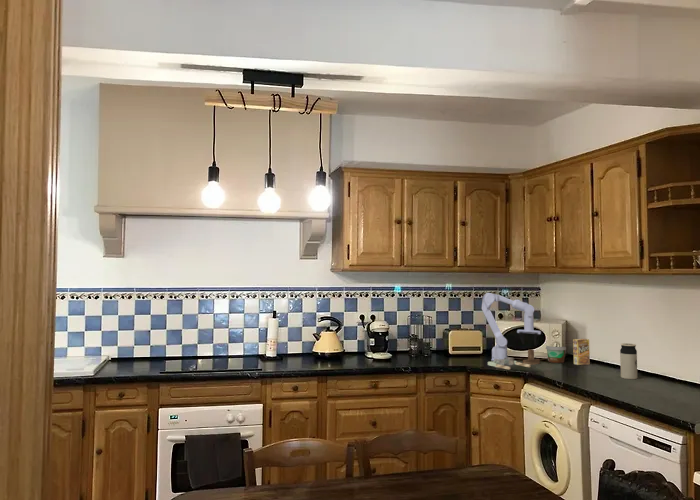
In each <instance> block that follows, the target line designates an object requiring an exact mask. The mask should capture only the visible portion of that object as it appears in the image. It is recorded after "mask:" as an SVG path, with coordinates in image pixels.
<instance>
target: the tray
mask: <svg viewBox="0 0 700 500" xmlns="http://www.w3.org/2000/svg"><path fill="white" fill-rule="evenodd" d="M516 362H518V361H517V360H514V365H516ZM496 364H497V363H494V361H493V360H491V361H487V366H491V367H495V368H497V367H496ZM516 366H517V365H516Z"/></svg>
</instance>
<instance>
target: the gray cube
mask: <svg viewBox="0 0 700 500" xmlns="http://www.w3.org/2000/svg"><path fill="white" fill-rule="evenodd" d="M514 361H515V358H514V357H509V356H507V358H504V365H505V366H514V365H515V364H514Z"/></svg>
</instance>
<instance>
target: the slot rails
mask: <svg viewBox="0 0 700 500" xmlns="http://www.w3.org/2000/svg"><path fill="white" fill-rule="evenodd" d="M516 366H521V367H526V368H531V365H530V364H525V363H523V362H520V361H517V362H516ZM495 368H500V369H504V370H511V366H509V365H505V364H504V365H499V364H496V367H495Z"/></svg>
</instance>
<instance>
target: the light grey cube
mask: <svg viewBox="0 0 700 500" xmlns="http://www.w3.org/2000/svg"><path fill="white" fill-rule="evenodd" d="M494 363H497V364H499V365H504V366H505V364H504V359H500V358H497V359H494Z"/></svg>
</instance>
